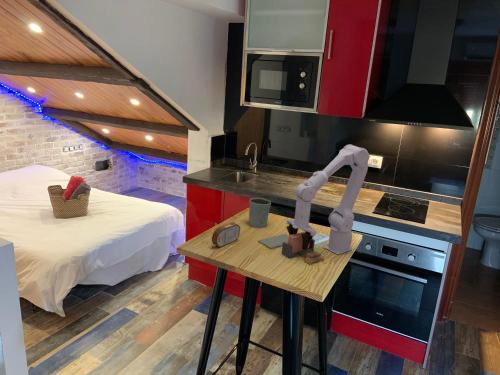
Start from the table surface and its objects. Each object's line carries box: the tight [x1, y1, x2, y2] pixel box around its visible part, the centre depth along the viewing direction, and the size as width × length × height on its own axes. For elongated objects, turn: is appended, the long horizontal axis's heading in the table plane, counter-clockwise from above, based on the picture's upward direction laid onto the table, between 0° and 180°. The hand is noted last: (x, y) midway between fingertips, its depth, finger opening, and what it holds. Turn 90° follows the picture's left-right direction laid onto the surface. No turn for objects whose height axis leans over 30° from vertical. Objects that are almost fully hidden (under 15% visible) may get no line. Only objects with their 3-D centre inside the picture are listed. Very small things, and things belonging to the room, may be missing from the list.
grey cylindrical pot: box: [248, 197, 272, 229], centre depth 176 cm, size 10×10×12 cm
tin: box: [211, 221, 241, 248], centre depth 153 cm, size 15×3×8 cm, turn 141°
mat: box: [257, 233, 289, 250], centre depth 160 cm, size 16×8×1 cm, turn 128°
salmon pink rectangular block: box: [288, 231, 310, 253], centre depth 150 cm, size 10×2×8 cm, turn 128°
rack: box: [281, 238, 316, 259], centre depth 150 cm, size 14×5×5 cm, turn 128°
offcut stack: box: [303, 250, 325, 266], centre depth 144 cm, size 8×3×4 cm, turn 128°
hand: (298, 245), depth 150 cm, fingers open, 6 cm apart
